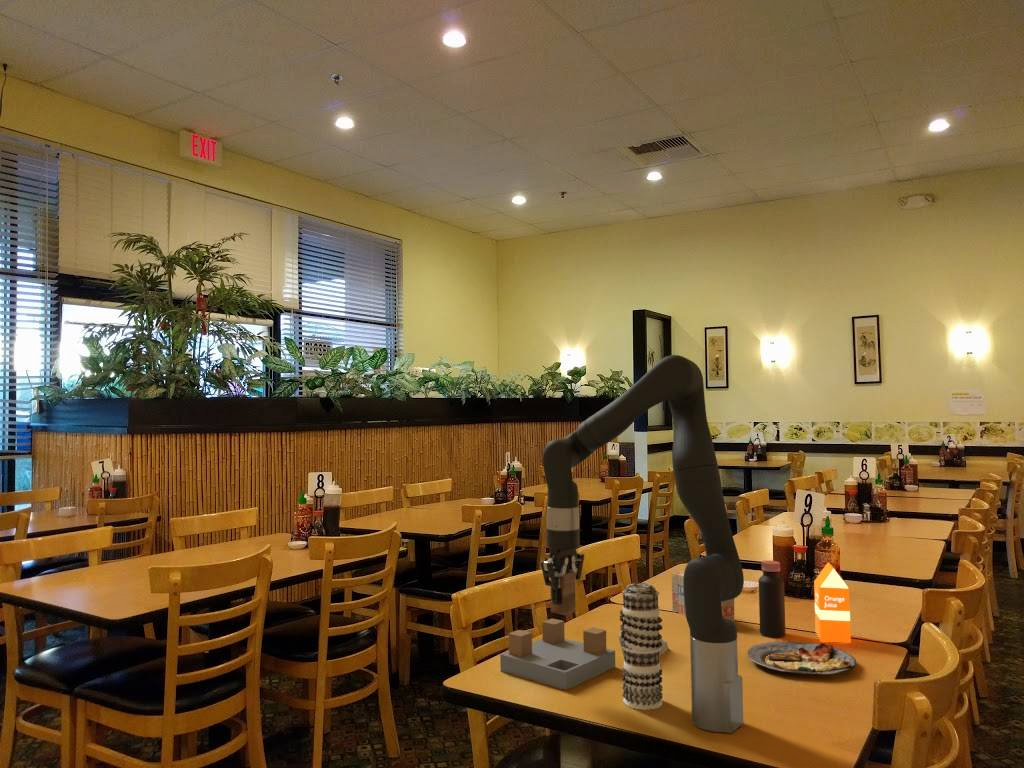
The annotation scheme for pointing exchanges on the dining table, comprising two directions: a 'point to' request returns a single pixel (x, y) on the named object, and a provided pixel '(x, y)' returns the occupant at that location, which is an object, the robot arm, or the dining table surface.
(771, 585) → the bottle
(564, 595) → the stool leg
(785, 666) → the food plate
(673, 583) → the printed cardboard box
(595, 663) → the stool seat
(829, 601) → the orange juice
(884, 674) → the dining table surface
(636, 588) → the decorative candle
